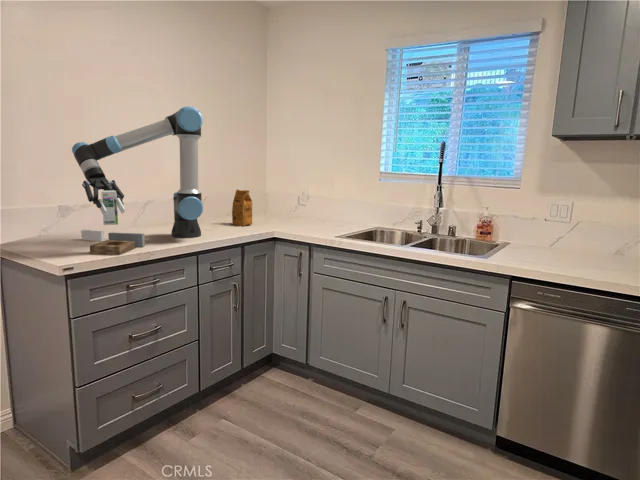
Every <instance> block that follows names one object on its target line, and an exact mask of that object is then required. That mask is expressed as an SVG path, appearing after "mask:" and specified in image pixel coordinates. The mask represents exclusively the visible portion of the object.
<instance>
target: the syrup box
mask: <svg viewBox="0 0 640 480" xmlns="http://www.w3.org/2000/svg"><path fill="white" fill-rule="evenodd" d="M100 195H101V201H102V202H103V204H104V206H105V208H106V210H107V211H106V214H105V215H103V214H102V219H103V221H102V222H103V226H113V225H116V226H118V225H119V217H118V216H119V214H118V212H119V211H118V206H117V196H116V190H102V189H101V194H100Z"/></svg>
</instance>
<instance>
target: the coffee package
mask: <svg viewBox="0 0 640 480" xmlns="http://www.w3.org/2000/svg"><path fill="white" fill-rule="evenodd" d="M233 197H234V198H233V200H232V201H233V202H232V209H231V217H232V219H231V222H232V223H231V224H232V226H237V227H245V226H250V225H253V200H252V198H251V196H250V190H249V189H248V190H244V189H242V190H240V189H238V188H237V189H236V190H235V193H234V196H233Z"/></svg>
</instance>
